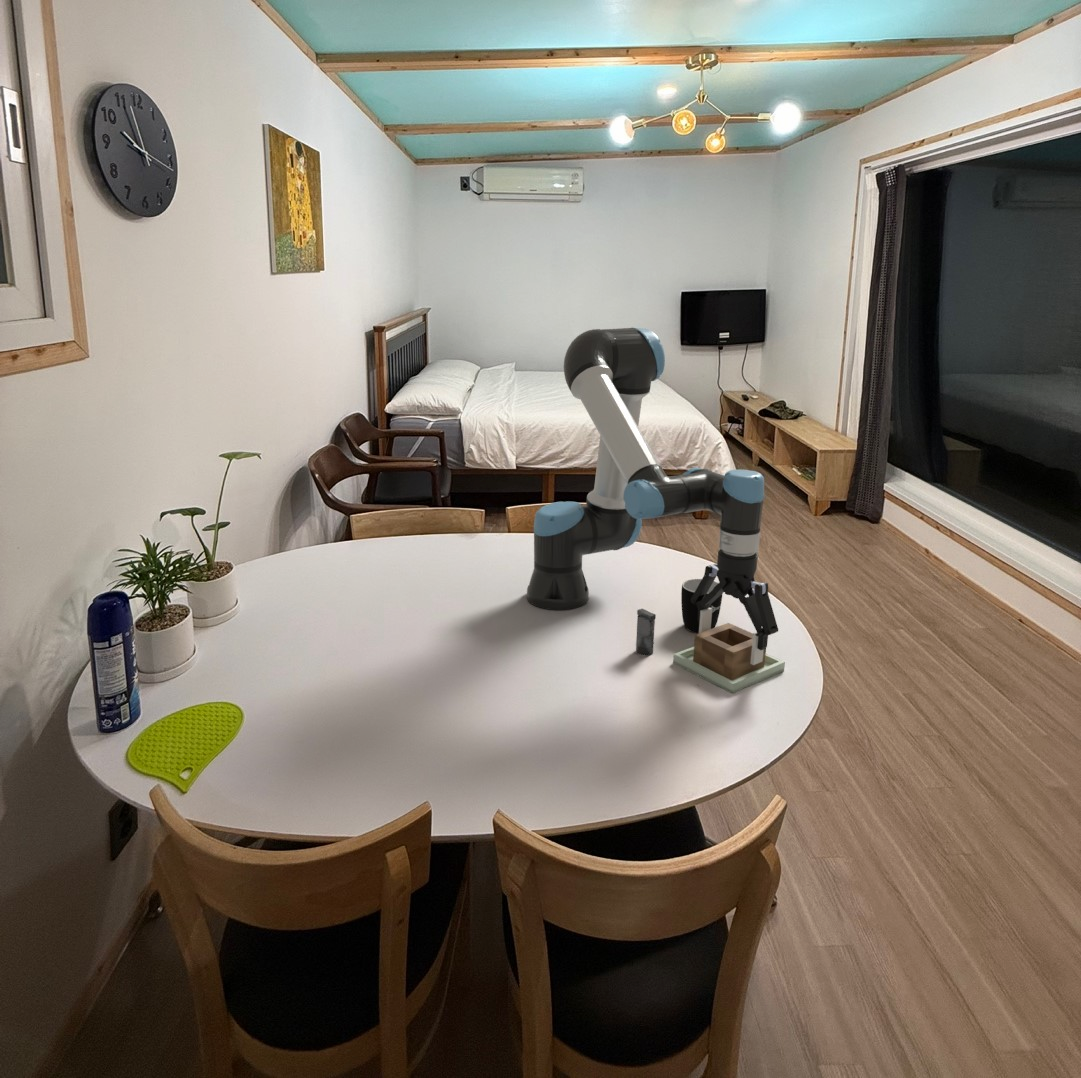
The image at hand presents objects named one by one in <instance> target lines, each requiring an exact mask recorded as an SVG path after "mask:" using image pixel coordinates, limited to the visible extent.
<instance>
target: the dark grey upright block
mask: <svg viewBox="0 0 1081 1078" xmlns="http://www.w3.org/2000/svg"><path fill="white" fill-rule="evenodd" d="M636 612H637V613H636V615H637V617H636V618H637V619H636V620H637V622H636V639H635V641H636V643H635V653H636V654H637V655H639V656H651V655H653V653H654V645H655V644H654V643H655V642H654V641H655V625H656V619H657V618H656V615H657V614H655V613H653V612H651V611H648V610H646V609H644V608H639V609H637V610H636Z"/></svg>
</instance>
